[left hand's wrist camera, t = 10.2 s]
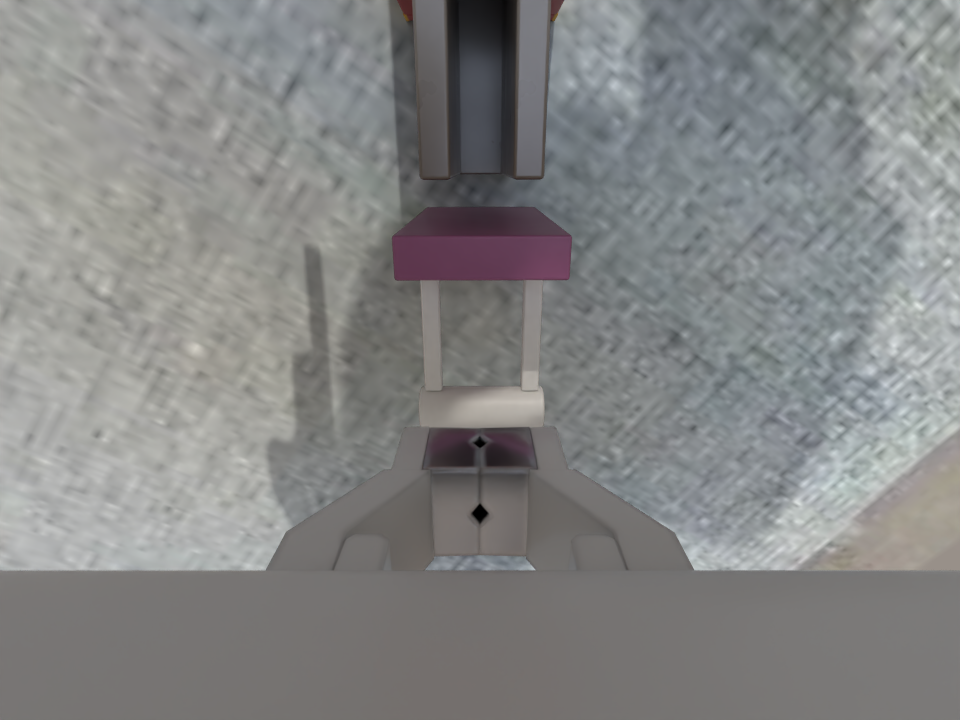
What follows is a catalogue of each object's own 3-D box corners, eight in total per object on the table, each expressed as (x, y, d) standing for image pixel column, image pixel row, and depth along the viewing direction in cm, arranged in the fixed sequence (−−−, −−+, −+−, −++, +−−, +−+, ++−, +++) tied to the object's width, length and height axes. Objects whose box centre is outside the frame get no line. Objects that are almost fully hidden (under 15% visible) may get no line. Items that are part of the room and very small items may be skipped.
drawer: (529, 362, 25) (558, 472, 16) (432, 362, 25) (406, 473, 16) (556, -372, 16) (652, -1045, 7) (404, -372, 16) (310, -1044, 7)
